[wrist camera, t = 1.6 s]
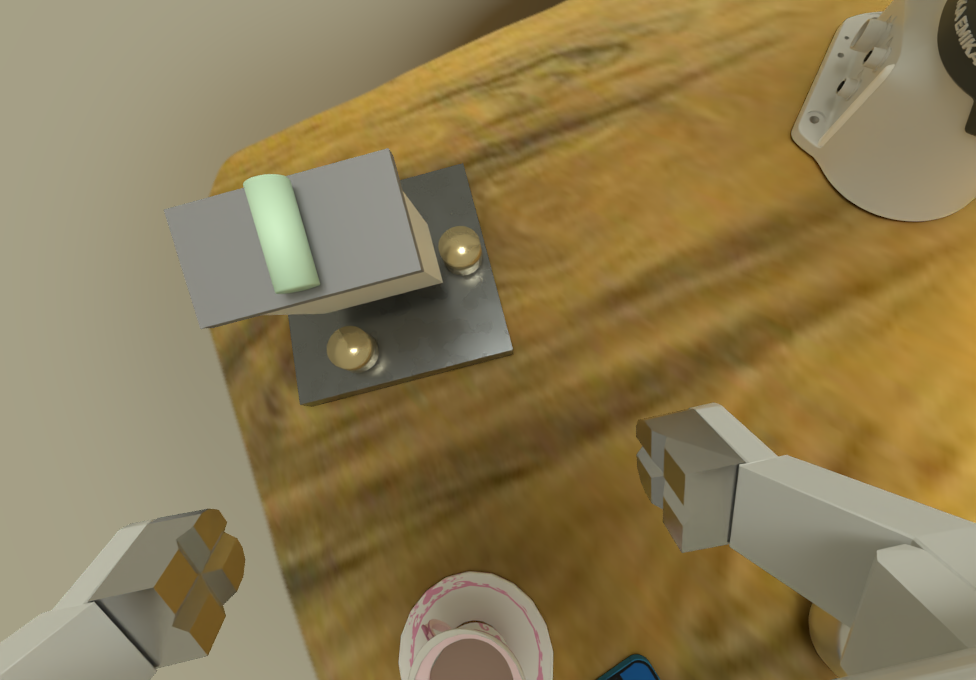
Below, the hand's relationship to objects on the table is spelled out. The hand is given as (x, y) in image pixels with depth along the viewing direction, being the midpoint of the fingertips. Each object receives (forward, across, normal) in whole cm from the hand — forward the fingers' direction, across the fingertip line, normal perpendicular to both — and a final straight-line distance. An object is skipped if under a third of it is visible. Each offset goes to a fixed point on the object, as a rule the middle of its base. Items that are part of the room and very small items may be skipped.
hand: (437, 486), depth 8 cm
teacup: (+13, +4, +30) cm, 33 cm away
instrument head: (+32, +6, +4) cm, 33 cm away
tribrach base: (+33, +6, +5) cm, 34 cm away
